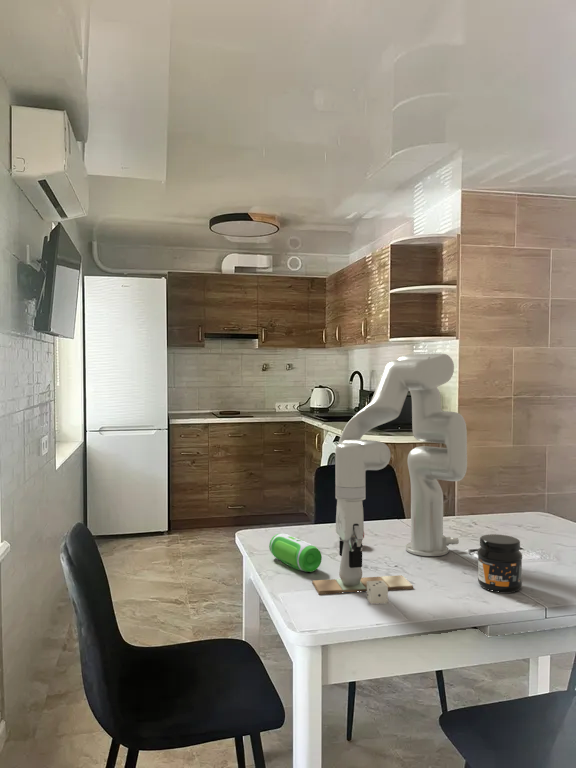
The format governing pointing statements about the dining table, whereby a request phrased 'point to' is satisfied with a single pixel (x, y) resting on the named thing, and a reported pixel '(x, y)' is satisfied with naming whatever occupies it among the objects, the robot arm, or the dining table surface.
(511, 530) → the dining table surface
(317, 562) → the speaker
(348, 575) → the salt shaker
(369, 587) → the die
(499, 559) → the supplement container
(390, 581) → the track
